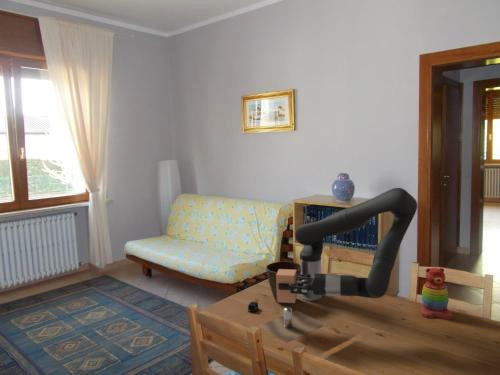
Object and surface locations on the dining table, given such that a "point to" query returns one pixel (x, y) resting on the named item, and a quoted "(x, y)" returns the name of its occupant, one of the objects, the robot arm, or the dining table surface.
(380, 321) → the dining table surface
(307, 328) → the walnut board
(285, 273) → the pink rectangular block
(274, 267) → the plant pot
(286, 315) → the steel post
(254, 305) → the black faceted lump
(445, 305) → the stacking bear
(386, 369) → the dining table surface
